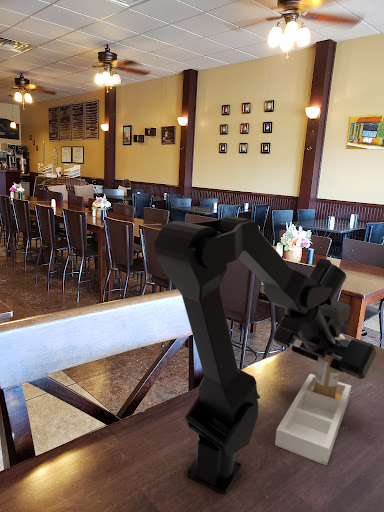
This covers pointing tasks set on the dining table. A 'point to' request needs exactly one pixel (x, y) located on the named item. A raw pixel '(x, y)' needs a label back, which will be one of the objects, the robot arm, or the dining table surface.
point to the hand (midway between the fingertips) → (332, 364)
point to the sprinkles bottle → (326, 376)
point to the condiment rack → (313, 422)
